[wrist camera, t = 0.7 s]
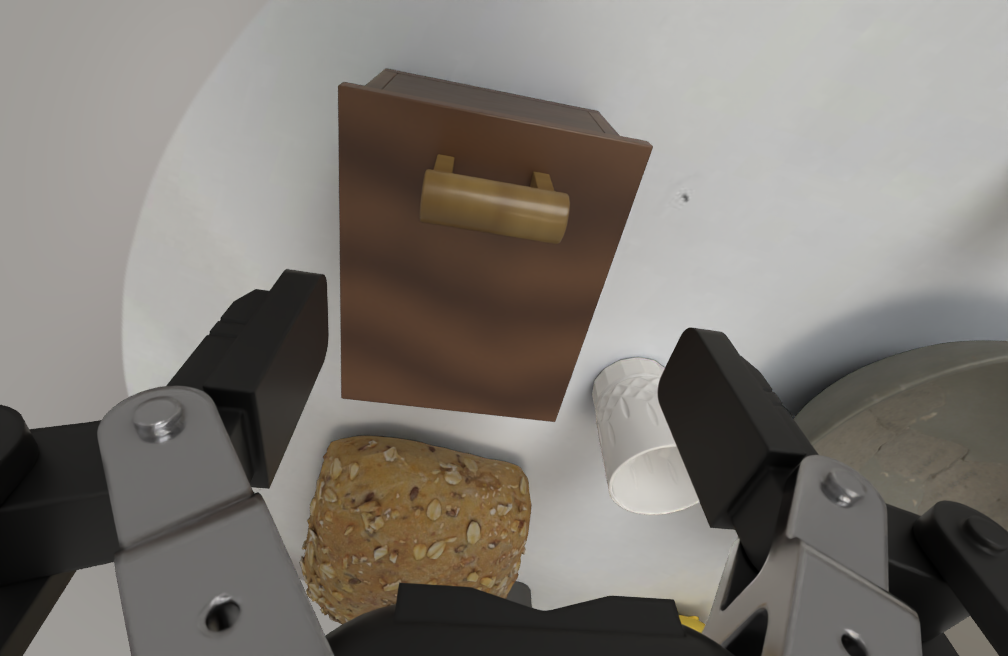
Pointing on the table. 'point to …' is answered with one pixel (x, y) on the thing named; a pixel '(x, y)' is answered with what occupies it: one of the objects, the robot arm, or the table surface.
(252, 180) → the table surface
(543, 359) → the lid
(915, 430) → the bowl
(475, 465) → the bread
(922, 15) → the table surface
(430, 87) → the compartment
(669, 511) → the white cup
